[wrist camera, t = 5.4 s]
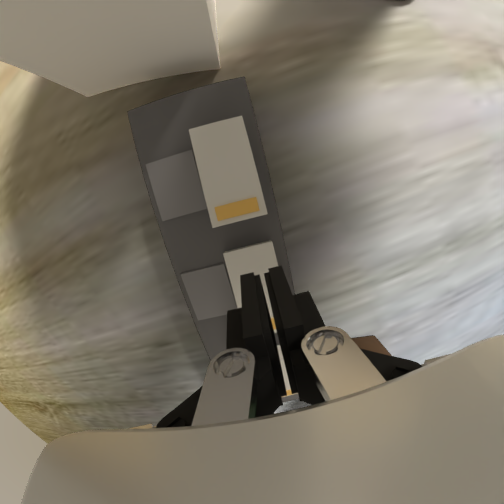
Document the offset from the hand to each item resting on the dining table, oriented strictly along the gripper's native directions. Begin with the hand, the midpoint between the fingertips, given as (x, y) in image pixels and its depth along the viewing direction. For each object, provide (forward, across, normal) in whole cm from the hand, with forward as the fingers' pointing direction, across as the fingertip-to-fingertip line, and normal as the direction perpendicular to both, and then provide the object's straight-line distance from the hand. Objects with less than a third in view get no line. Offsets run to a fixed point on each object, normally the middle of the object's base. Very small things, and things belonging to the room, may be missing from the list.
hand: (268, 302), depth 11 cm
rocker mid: (+7, +1, +3) cm, 8 cm away
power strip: (+12, +2, +5) cm, 14 cm away
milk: (+13, +4, -19) cm, 24 cm away
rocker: (+8, +1, -5) cm, 9 cm away
